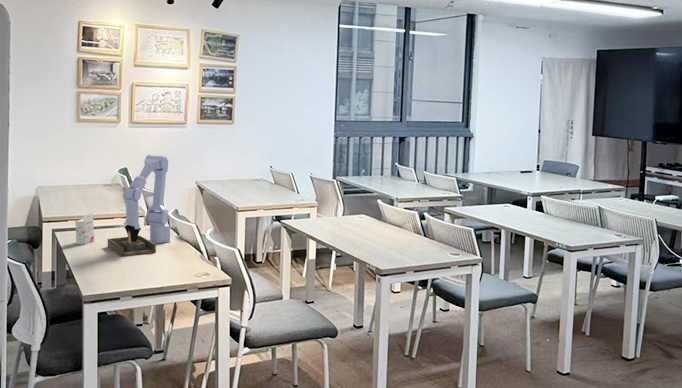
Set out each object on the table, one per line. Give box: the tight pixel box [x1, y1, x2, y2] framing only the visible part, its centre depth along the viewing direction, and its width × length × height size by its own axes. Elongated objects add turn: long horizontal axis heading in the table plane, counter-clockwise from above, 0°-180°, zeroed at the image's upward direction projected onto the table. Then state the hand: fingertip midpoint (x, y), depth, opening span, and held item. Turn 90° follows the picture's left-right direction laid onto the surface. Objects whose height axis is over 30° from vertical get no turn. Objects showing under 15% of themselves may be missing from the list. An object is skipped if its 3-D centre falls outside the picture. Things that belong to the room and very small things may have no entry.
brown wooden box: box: [107, 235, 157, 257], centre depth 330 cm, size 16×22×4 cm
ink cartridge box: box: [75, 212, 95, 246], centre depth 341 cm, size 9×5×15 cm, turn 168°
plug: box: [127, 230, 137, 244], centre depth 328 cm, size 4×4×8 cm
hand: (132, 241), depth 328 cm, fingers closed on plug, 3 cm apart
